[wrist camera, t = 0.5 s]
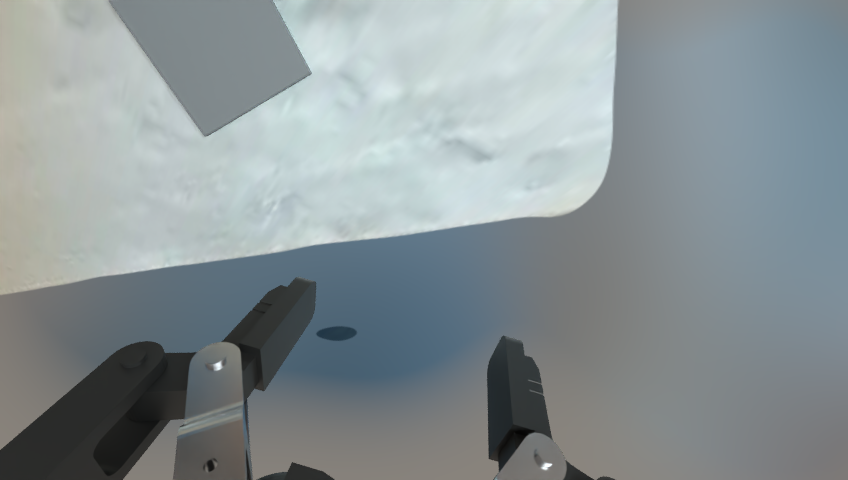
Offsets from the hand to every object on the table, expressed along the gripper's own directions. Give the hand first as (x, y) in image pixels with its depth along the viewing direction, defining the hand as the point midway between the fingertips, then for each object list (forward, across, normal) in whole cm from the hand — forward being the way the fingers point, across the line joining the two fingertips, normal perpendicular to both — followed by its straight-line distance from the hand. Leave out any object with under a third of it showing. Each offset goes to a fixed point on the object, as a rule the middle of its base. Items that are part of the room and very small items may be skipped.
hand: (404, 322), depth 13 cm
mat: (+27, +29, -6) cm, 40 cm away
